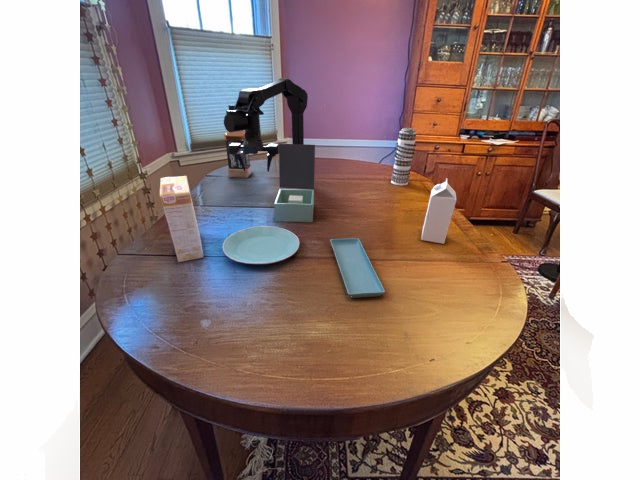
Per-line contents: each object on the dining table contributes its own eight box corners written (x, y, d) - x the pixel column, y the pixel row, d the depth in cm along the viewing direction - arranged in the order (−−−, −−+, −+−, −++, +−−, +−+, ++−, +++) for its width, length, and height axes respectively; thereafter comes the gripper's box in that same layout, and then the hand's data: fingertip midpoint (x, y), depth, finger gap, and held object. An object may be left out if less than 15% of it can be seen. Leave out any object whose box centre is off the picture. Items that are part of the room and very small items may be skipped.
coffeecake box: (176, 238, 93) (159, 177, 83) (200, 235, 96) (187, 175, 85) (177, 263, 82) (158, 195, 71) (204, 258, 84) (190, 191, 74)
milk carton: (443, 234, 100) (459, 179, 90) (444, 244, 94) (460, 186, 84) (422, 231, 102) (434, 176, 92) (421, 240, 96) (434, 183, 86)
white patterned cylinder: (411, 182, 149) (421, 128, 136) (405, 186, 142) (415, 131, 129) (394, 178, 153) (402, 126, 140) (387, 183, 146) (395, 128, 133)
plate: (312, 242, 93) (312, 234, 92) (274, 280, 76) (273, 271, 74) (253, 228, 101) (253, 220, 99) (207, 259, 84) (205, 250, 82)
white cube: (289, 207, 115) (289, 195, 113) (302, 207, 115) (302, 195, 113) (288, 212, 111) (288, 200, 108) (302, 213, 111) (301, 200, 108)
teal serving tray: (384, 298, 71) (386, 290, 70) (347, 301, 70) (348, 293, 68) (358, 244, 93) (358, 237, 92) (329, 246, 92) (329, 239, 90)
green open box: (312, 222, 106) (312, 204, 103) (275, 221, 106) (274, 203, 102) (313, 205, 119) (314, 189, 116) (280, 204, 119) (279, 188, 116)
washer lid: (314, 144, 110) (315, 144, 111) (279, 143, 110) (279, 143, 111) (314, 188, 115) (314, 188, 116) (279, 187, 115) (279, 187, 116)
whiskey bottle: (248, 178, 148) (240, 106, 131) (228, 177, 148) (218, 105, 131) (252, 172, 156) (245, 104, 140) (233, 171, 156) (224, 103, 140)
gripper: (220, 132, 102) (227, 177, 111) (275, 133, 102) (277, 177, 111) (229, 127, 112) (234, 168, 120) (278, 128, 112) (281, 169, 120)
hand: (256, 171), depth 117 cm, fingers open, 9 cm apart
